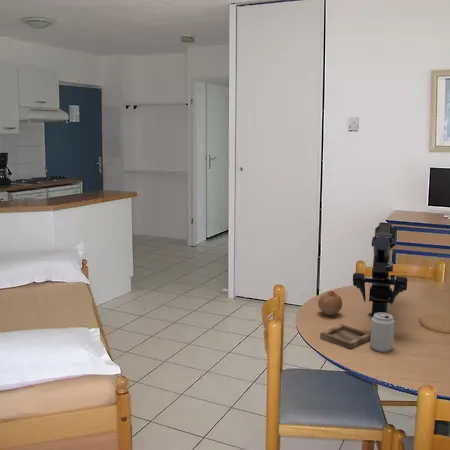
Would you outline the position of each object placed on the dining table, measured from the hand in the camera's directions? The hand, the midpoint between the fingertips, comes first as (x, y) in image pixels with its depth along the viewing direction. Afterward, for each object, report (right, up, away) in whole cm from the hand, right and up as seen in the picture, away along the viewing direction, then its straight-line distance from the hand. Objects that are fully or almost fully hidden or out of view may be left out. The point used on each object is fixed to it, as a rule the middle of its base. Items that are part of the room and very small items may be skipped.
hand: (378, 302), depth 191 cm
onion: (-12, -9, +27) cm, 31 cm away
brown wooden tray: (-11, -13, +3) cm, 17 cm away
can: (0, -15, -5) cm, 16 cm away
